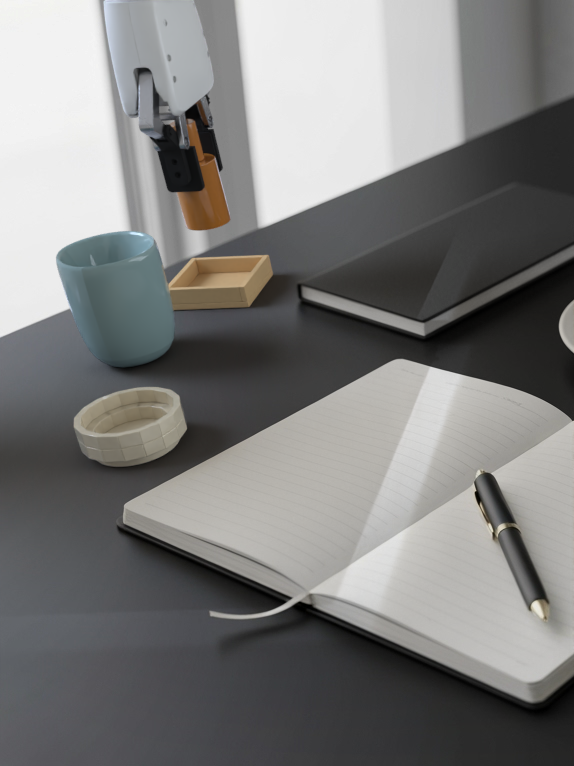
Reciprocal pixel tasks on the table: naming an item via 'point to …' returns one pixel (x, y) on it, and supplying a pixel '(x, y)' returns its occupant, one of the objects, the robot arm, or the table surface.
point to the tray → (220, 282)
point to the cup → (119, 296)
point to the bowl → (131, 426)
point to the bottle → (204, 191)
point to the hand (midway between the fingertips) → (195, 179)
